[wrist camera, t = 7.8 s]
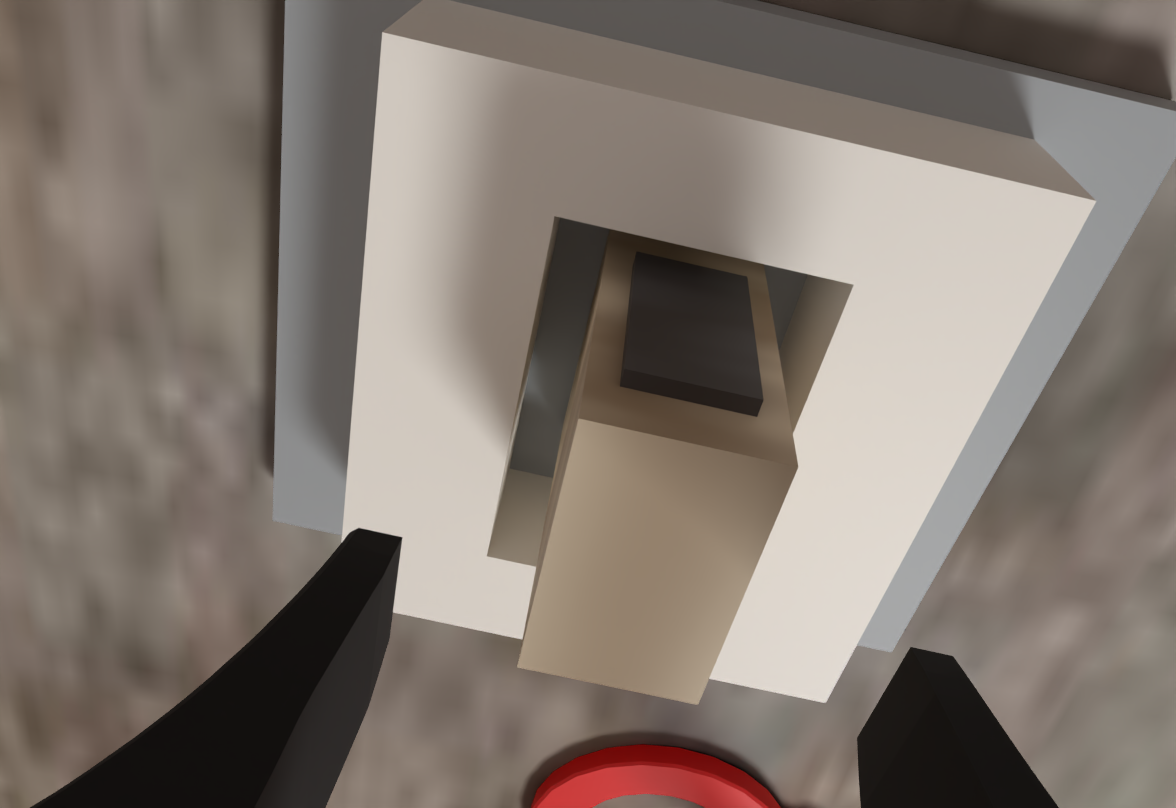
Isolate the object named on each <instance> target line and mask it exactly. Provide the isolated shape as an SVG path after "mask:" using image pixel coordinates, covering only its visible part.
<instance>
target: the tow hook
mask: <svg viewBox="0 0 1176 808" xmlns="http://www.w3.org/2000/svg"><path fill="white" fill-rule="evenodd" d="M636 794H655V795H665V796H672V797H676V798H680V799H684V800H687V801H691V802H694V803H696V804H699V805H701V806H703V807H705V808H781V807H780V806H779V804H778V803H777V802H776V800H775V799H774V798H773V796H772V795H771V793H770V792H769V791H768V790H767V789H766V788H764V787H763V786H762V785H761V784H759V783H758V782H757V781H756V780H754V779H753V778H752V777H751V776H749V775H748V774H747V773H745V772H744V771H742V770H740V769H738V768H736V767H734V766H732V765H729V764H727V763H725V762H723V761H721V760H719V759H717V758H715V757H712V756H708V755H705V754H701V753H697V752H693V751H690V750H686V749H682V748H679V747H667V746H656V745H644V744H641V745H630V746H620V747H611V748H606V749H602V750H599V751H596V752H593V753H590V754H586V755H583V756H580V757H577V758H575V759H574V760H572V761H570V762H568V763H567V764H565V765H563V766H562V767H560V768H558V769H557V770H555V771H553V772H552V773H551V774H550V776H549V777H548V778H547V779H546V780H545V781H544V782H543V783H542V784H541V786H540V787H539V788H538V789H537V791H536V794H535V797H534V800H533V803H532V805H531V808H592V807H594V806H596V805H597V804H599V803H601V802H603V801H605V800H609V799H612V798H616V797H620V796H623V795H636Z"/></svg>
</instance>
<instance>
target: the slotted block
mask: <svg viewBox="0 0 1176 808" xmlns="http://www.w3.org/2000/svg"><path fill="white" fill-rule="evenodd" d="M1175 158H1176V102H1175V101H1172V100H1167V99H1163V98H1159V97H1155V96H1151V95H1147V94H1143V93H1138V92H1134V91H1130V90H1126V89H1122V88H1118V87H1114V86H1109V85H1105V84H1101V83H1097V82H1093V81H1089V80H1085V79H1081V78H1076V77H1072V76H1068V75H1064V74H1060V73H1056V72H1052V71H1047V70H1043V69H1039V68H1035V67H1031V66H1027V65H1023V64H1019V63H1014V62H1010V61H1006V60H1002V59H998V58H994V57H990V56H985V55H981V54H977V53H973V52H969V51H965V50H961V49H956V48H952V47H948V46H944V45H940V44H936V43H932V42H928V41H923V40H919V39H915V38H911V37H907V36H903V35H899V34H894V33H890V32H886V31H882V30H878V29H874V28H870V27H866V26H861V25H857V24H853V23H849V22H845V21H841V20H837V19H832V18H828V17H824V16H820V15H816V14H812V13H808V12H804V11H799V10H795V9H791V8H787V7H783V6H779V5H775V4H770V3H766V2H762V1H758V0H285V27H284V69H283V111H282V152H281V194H280V235H279V277H278V319H277V360H276V402H275V443H274V485H273V521H276V522H281V523H286V524H291V525H295V526H300V527H305V528H309V529H314V530H319V531H323V532H328V533H333V534H338V535H342V542H343V541H344V539H345V538H346V537H347V535H348V534H349V533H350V532H351V531H353V530H355V529H357V528H362V529H367V530H371V531H376V532H381V533H385V534H390V535H394V536H399V537H402V544H401V552H400V560H399V568H398V575H397V583H396V591H395V599H394V607H393V612H394V613H399V614H404V615H409V616H413V617H418V618H423V619H428V620H432V621H437V622H442V623H447V624H452V625H456V626H461V627H466V628H471V629H475V630H480V631H485V632H490V633H494V634H499V635H504V636H509V637H513V638H518V639H523V634H524V629H525V623H526V618H527V613H528V607H529V602H530V597H531V592H532V586H533V581H534V576H535V571H536V565H537V560H538V555H539V549H540V544H541V539H542V534H543V528H544V523H545V518H546V513H547V507H548V502H549V497H550V491H551V486H552V481H553V476H554V470H555V465H556V460H557V455H558V449H559V444H560V439H561V433H562V428H563V423H564V419H565V415H566V410H567V406H568V402H569V398H570V393H571V389H572V385H573V381H574V376H575V372H576V368H577V364H578V360H579V355H580V351H581V347H582V343H583V338H584V334H585V330H586V326H587V321H588V317H589V313H590V309H591V304H592V300H593V296H594V292H595V288H596V283H597V279H598V275H599V271H600V266H601V262H602V258H603V254H604V249H605V245H606V241H607V237H608V233H609V229H613V230H617V231H622V232H626V233H630V234H635V235H639V236H643V237H648V238H652V239H656V240H661V241H665V242H669V243H674V244H678V245H683V246H687V247H691V248H696V249H700V250H704V251H709V252H713V253H717V254H722V255H726V256H730V257H735V258H739V259H744V260H748V261H752V262H757V263H761V264H764V268H765V274H766V280H767V286H768V292H769V298H770V303H771V309H772V315H773V321H774V327H775V333H776V339H777V344H778V350H779V356H780V362H781V368H782V374H783V380H784V385H785V391H786V397H787V403H788V409H789V415H790V421H791V426H792V432H793V438H794V444H795V450H796V456H797V462H798V469H797V472H796V474H795V476H794V479H793V481H792V483H791V486H790V488H789V491H788V493H787V495H786V498H785V500H784V502H783V505H782V507H781V509H780V512H779V514H778V517H777V519H776V521H775V524H774V526H773V528H772V531H771V533H770V535H769V538H768V540H767V543H766V545H765V547H764V550H763V552H762V554H761V557H760V559H759V561H758V564H757V566H756V569H755V571H754V573H753V576H752V578H751V580H750V583H749V585H748V587H747V590H746V592H745V595H744V597H743V599H742V602H741V604H740V606H739V609H738V611H737V614H736V616H735V618H734V621H733V623H732V625H731V628H730V630H729V632H728V635H727V637H726V640H725V642H724V644H723V647H722V649H721V651H720V654H719V656H718V658H717V661H716V663H715V666H714V668H713V670H712V673H711V675H710V677H709V679H714V680H718V681H723V682H728V683H733V684H737V685H742V686H747V687H752V688H756V689H761V690H766V691H771V692H775V693H780V694H785V695H790V696H794V697H799V698H804V699H809V700H814V701H818V702H823V703H826V701H827V699H828V697H829V696H830V694H831V692H832V690H833V688H834V686H835V685H836V683H837V681H838V679H839V677H840V675H841V673H842V672H843V670H844V668H845V666H846V664H847V662H848V660H849V659H850V657H851V655H852V653H853V651H854V649H855V647H856V646H857V645H859V646H864V647H868V648H873V649H878V650H882V651H887V652H892V651H893V649H894V647H895V646H896V644H897V642H898V640H899V639H900V637H901V635H902V633H903V632H904V630H905V628H906V626H907V625H908V623H909V621H910V619H911V618H912V616H913V614H914V612H915V611H916V609H917V607H918V605H919V604H920V602H921V600H922V599H923V597H924V595H925V593H926V592H927V590H928V588H929V586H930V585H931V583H932V581H933V579H934V578H935V576H936V574H937V572H938V571H939V569H940V567H941V565H942V564H943V562H944V560H945V558H946V557H947V555H948V553H949V551H950V550H951V548H952V546H953V545H954V543H955V541H956V539H957V538H958V536H959V534H960V532H961V531H962V529H963V527H964V525H965V524H966V522H967V520H968V518H969V517H970V515H971V513H972V511H973V510H974V508H975V506H976V504H977V503H978V501H979V499H980V497H981V496H982V494H983V492H984V491H985V489H986V487H987V485H988V484H989V482H990V480H991V478H992V477H993V475H994V473H995V471H996V470H997V468H998V466H999V464H1000V463H1001V461H1002V459H1003V457H1004V456H1005V454H1006V452H1007V450H1008V449H1009V447H1010V445H1011V443H1012V442H1013V440H1014V438H1015V437H1016V435H1017V433H1018V431H1019V430H1020V428H1021V426H1022V424H1023V423H1024V421H1025V419H1026V417H1027V416H1028V414H1029V412H1030V410H1031V409H1032V407H1033V405H1034V403H1035V402H1036V400H1037V398H1038V396H1039V395H1040V393H1041V391H1042V390H1043V388H1044V386H1045V384H1046V383H1047V381H1048V379H1049V377H1050V376H1051V374H1052V372H1053V370H1054V369H1055V367H1056V365H1057V363H1058V362H1059V360H1060V358H1061V356H1062V355H1063V353H1064V351H1065V349H1066V348H1067V346H1068V344H1069V342H1070V341H1071V339H1072V337H1073V336H1074V334H1075V332H1076V330H1077V329H1078V327H1079V325H1080V323H1081V322H1082V320H1083V318H1084V316H1085V315H1086V313H1087V311H1088V309H1089V308H1090V306H1091V304H1092V302H1093V301H1094V299H1095V297H1096V295H1097V294H1098V292H1099V290H1100V288H1101V287H1102V285H1103V283H1104V282H1105V280H1106V278H1107V276H1108V275H1109V273H1110V271H1111V269H1112V268H1113V266H1114V264H1115V262H1116V261H1117V259H1118V257H1119V255H1120V254H1121V252H1122V250H1123V248H1124V247H1125V245H1126V243H1127V241H1128V240H1129V238H1130V236H1131V234H1132V233H1133V231H1134V229H1135V228H1136V226H1137V224H1138V222H1139V221H1140V219H1141V217H1142V215H1143V214H1144V212H1145V210H1146V208H1147V207H1148V205H1149V203H1150V201H1151V200H1152V198H1153V196H1154V194H1155V193H1156V191H1157V189H1158V187H1159V186H1160V184H1161V182H1162V180H1163V179H1164V177H1165V175H1166V174H1167V172H1168V170H1169V168H1170V167H1171V165H1172V163H1173V161H1174V160H1175Z"/></svg>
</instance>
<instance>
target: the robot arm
mask: <svg viewBox="0 0 1176 808" xmlns="http://www.w3.org/2000/svg"><path fill="white" fill-rule="evenodd" d="M401 544H402V537H399V536H394V535H390V534H385V533H381V532H376V531H371V530H367V529H362V528H357V529H355V530H353V531H351V532H350V533H349V534H348V535H347V537H346V538H345V539H344V541H343V542H342V543H341V544H340V546H339V547H338V548H337V549H336V551H335V552H334V553H333V554H332V555H331V557H330V558H329V559H328V560H327V561H326V563H325V564H324V565H323V566H322V567H321V568H320V569H319V571H318V572H317V573H316V574H315V575H314V576H313V577H312V578H311V579H310V581H309V582H308V583H307V584H306V585H305V586H304V587H303V588H302V589H301V590H300V591H299V593H298V594H297V595H296V596H295V597H294V598H293V599H292V600H291V601H290V602H289V603H288V604H287V605H286V606H285V607H284V608H283V609H282V610H281V611H280V612H279V613H278V614H277V615H276V616H275V617H274V618H273V619H272V620H271V621H270V622H269V623H268V624H267V625H266V626H265V627H264V628H263V629H262V630H261V631H260V632H259V633H258V634H257V635H256V636H255V637H254V638H253V639H252V640H251V641H250V642H249V643H247V644H246V645H245V646H244V647H243V648H242V649H241V650H240V651H239V652H237V653H236V654H235V655H234V656H233V657H232V658H231V659H230V660H229V661H227V662H226V663H225V664H224V665H223V666H222V667H221V668H220V669H219V670H217V671H216V672H215V673H214V674H213V675H212V676H211V677H210V678H209V679H207V680H206V681H205V682H204V683H203V684H202V685H200V686H199V687H198V688H197V689H196V690H194V691H193V692H192V693H191V694H190V695H188V696H187V697H186V698H185V699H184V700H182V701H181V702H180V703H179V704H177V705H176V706H175V707H174V708H172V709H171V710H170V711H169V712H167V713H166V714H165V715H163V716H162V717H161V718H160V719H158V720H157V721H156V722H154V723H153V724H152V725H150V726H149V727H148V728H147V729H145V730H144V731H143V732H141V733H140V734H139V735H137V736H136V737H135V738H133V739H132V740H130V741H129V742H128V743H126V744H125V745H123V746H122V747H121V748H119V749H118V750H116V751H115V752H113V753H112V754H111V755H109V756H108V757H106V758H105V759H104V760H102V761H101V762H99V763H98V764H97V765H95V766H94V767H92V768H91V769H90V770H88V771H87V772H85V773H84V774H82V775H81V776H79V777H78V778H76V779H75V780H73V781H72V782H70V783H69V784H67V785H66V786H64V787H63V788H61V789H59V790H58V791H56V792H55V793H53V794H52V795H50V796H48V797H47V798H45V799H43V800H42V801H40V802H39V803H37V804H35V805H34V806H32V807H30V808H325V807H326V805H327V802H328V800H329V798H330V795H331V793H332V791H333V789H334V786H335V784H336V782H337V779H338V777H339V775H340V772H341V770H342V768H343V765H344V763H345V761H346V758H347V756H348V754H349V751H350V749H351V747H352V744H353V742H354V740H355V737H356V735H357V733H358V730H359V728H360V726H361V723H362V721H363V718H364V716H365V714H366V711H367V709H368V706H369V703H370V700H371V697H372V694H373V690H374V687H375V684H376V681H377V678H378V674H379V671H380V668H381V665H382V661H383V658H384V655H385V651H386V648H387V645H388V642H389V638H390V630H391V622H392V614H393V607H394V599H395V591H396V583H397V575H398V568H399V560H400V552H401ZM857 742H858V768H859V786H860V801H861V808H1059V807H1058V806H1057V804H1056V803H1055V802H1054V800H1053V799H1052V798H1051V796H1050V795H1049V794H1048V792H1047V791H1046V789H1045V788H1044V787H1043V785H1042V784H1041V782H1040V781H1039V780H1038V778H1037V777H1036V775H1035V774H1034V773H1033V771H1032V770H1031V768H1030V767H1029V765H1028V764H1027V763H1026V761H1025V760H1024V758H1023V757H1022V755H1021V754H1020V753H1019V751H1018V750H1017V748H1016V747H1015V745H1014V744H1013V742H1012V741H1011V740H1010V738H1009V737H1008V735H1007V734H1006V732H1005V731H1004V729H1003V728H1002V726H1001V725H1000V724H999V722H998V721H997V719H996V718H995V716H994V715H993V713H992V712H991V710H990V709H989V707H988V706H987V704H986V703H985V702H984V700H983V699H982V697H981V696H980V694H979V693H978V691H977V690H976V688H975V687H974V685H973V684H972V683H971V681H970V680H969V678H968V677H967V675H966V674H965V672H964V671H963V670H962V668H961V667H960V665H959V664H958V663H957V661H956V660H955V658H954V657H953V656H950V655H945V654H940V653H936V652H931V651H926V650H922V649H917V648H913V647H910V649H909V651H908V653H907V654H906V656H905V658H904V659H903V661H902V663H901V664H900V666H899V668H898V670H897V671H896V673H895V675H894V676H893V678H892V680H891V681H890V683H889V685H888V687H887V688H886V690H885V692H884V693H883V695H882V697H881V698H880V700H879V702H878V704H877V705H876V707H875V709H874V710H873V712H872V714H871V715H870V717H869V719H868V721H867V722H866V724H865V726H864V727H863V729H862V731H861V732H860V734H859V736H858V738H857Z"/></svg>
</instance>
